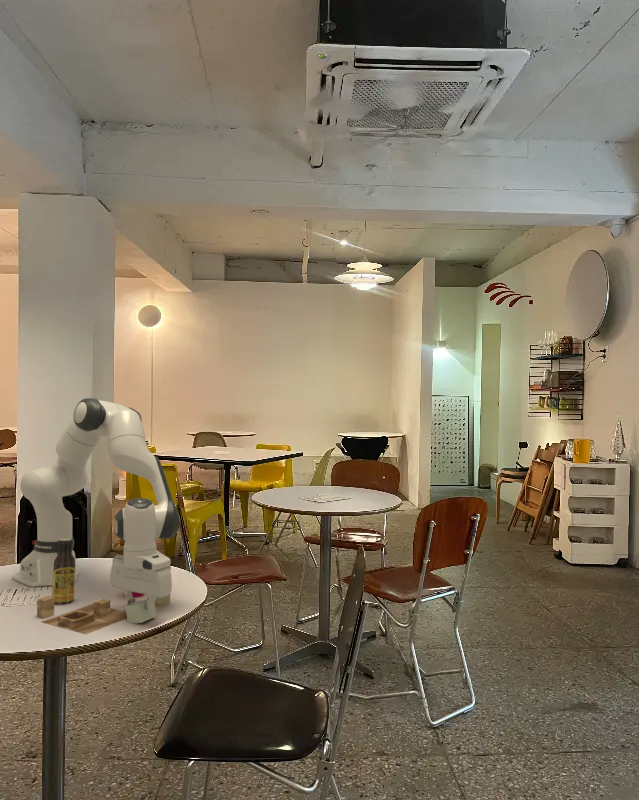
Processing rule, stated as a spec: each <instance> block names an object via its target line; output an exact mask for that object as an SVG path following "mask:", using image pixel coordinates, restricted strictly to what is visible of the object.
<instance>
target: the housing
mask: <svg viewBox="0 0 639 800" xmlns="http://www.w3.org/2000/svg"><path fill="white" fill-rule="evenodd" d="M146 603H148V600H147V599H142V600H139V601H135V603H133V604H131V605H128V606H127V605H125V606H124V607H125V608H124V609H125V612H126V614H127V618H126V619H127V623H131V624H141V623H145V622H146V621H149V620H151V619H153V618H156V617H157V609H156V606H155V603H153V609H152V610H150V611H148V610H145V604H146Z"/></svg>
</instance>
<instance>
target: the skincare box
mask: <svg viewBox="0 0 639 800" xmlns="http://www.w3.org/2000/svg"><path fill="white" fill-rule="evenodd" d="M171 567H172V566H171V565H170V566H168V568H169V569H170V571H172V569H171ZM146 600H149V599H148V598H147V597H146ZM154 603H155V607H156V606H161V605H169V604H171V593H170V594H169V595H167V596H165V597H162V598H160V597H156V599H155V601H154Z"/></svg>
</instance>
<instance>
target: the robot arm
mask: <svg viewBox="0 0 639 800" xmlns="http://www.w3.org/2000/svg"><path fill="white" fill-rule="evenodd" d="M145 435H146V434H145V430H144V426H143V420H142V415H141V413H140V412H139V411H137V410H136V409H135V408H132V407H127V406H125V405H123V404H120V403H116V402H111V401H107V400H100V399H97V398H94V397H93V398H90V397H89V398H88V397H86V398H83V399H81V400H80V401H79V402H78V403H77V404H76V407H75V408H74V412H73V417H72V419H71V420H70V421H69V423H68V425H67V427H66V429H65V430H64V432H63V433H62V435H61V437H60V439H59V440H58V442H57V444H56V447H55V450H56V451H55V452H56V454H57V456H58V458H57V461H56V462H55V463H54V464H52V465H49V466H43V467H37V468H35V469H31V470H29V471H28V472H26V473H24V475H23V476H22V477H21V480H20V483H19V484H20V485H19V486H20V491H21V494H22V495H23V496H24V498H26V499H27V500H29V502H30V503H31V505H32V506H33V510H34V512H35V515H36V526H37V530H36V531H37V539H36V540H32V543H31V544H32V545H34V546H33V550H32V551H31V552H30V553H29V554H27V555H26V556H25V557H24V558H23V559H22V560H21V561H20V565H19V572H17V573H15V574H13V575H12V577H11V579H12V580H14V581H16V582H19V583H21V584H23V585H26V586H28V587H31V588H35V587H43V586H45V587H46V586H53V570H54V560H55V559H56V557H57V555H58V551H59V545H58V540H59V539H61V538H72V539H73V543H72V555H73V557H74V559H75V581H76V580H77V579H78V575H79V572H80V571H79V570H77V562H76V561H77V560H76V559H77V558H76V553H75V551H74V550H73V549H74V547H75V540H74V539H75V538H74V536H73V515H72V513H71V512H70V511H69V510H67V509H66V508H65V505H64V503H63V497H67V496H72V495H74V494H76V493H79V492H80V491H82V490H83V489H84V488H85V487H86V485H87V482H88V473H87V471H86V465H87V463H88V461H89V460H90V459H89V458H90V457H91V456H92V454H93V452H94V450H95V448H96V446H97V445H98V443H99V441H100V439H101V437H102V436H103V437H107V443H108V453H109V457H110V460H111V463H112V464H113V466H115V467H116V468H118V469H119V470H121V471H122V472H125V473H128V474H133V475H135V476H138V477H141V478H143V479H145V480H147V481H148V482H149V483H150V484H151V486H152V490H153V492H154V495H155V499H156V503H157V504H156V505H155V504H154V501H152V500H151V499H148V498H145V497H137V498H132V499H130V500H128V501H126V502H125V504H124V505H125V506H124V508H120V510H118V511H117V512H116V514H115V515H114V535H115V536H116V537H117V538H118V539H119V540H122V541H124V545H123V555H122V554H116V555H115V556H113V558H112V565H111V569H110V576H109V584H110V586H111V588H113V589H118V590H122V591H123V596H124V595H125V596H124V597H125V599H126V606H128V605H131V604H133V603H136V598H133V596H132V593H131V592H136V593H141V594H144V595H146V599H147V598H148V599H149V600H148V603H146V604H145V610H148V611H150V610H152V609H153V603H154V601H155V599H156V597H160V598H162V597H165V596H167V595H169V594H170V595H171V592H172V586H173V582H172V581H173V580H172V572H171V571H172V570H171V571H170V569H169V568H168V566H171V562H172V561H171V558H170V557H168V556H166V555H165V554H163V553H162V552H160V551H159V550H157V542H156V539H159V540H162V539H163V540H170V539H171V538H173V537H175V535H176V534H177V533H178V532H179V531H180V528H181V518H180V514H179V511H178V508H177V506H176V504H175V501H174V498H173V496H172V495H173V494H172V493H171V490H170V487H169V484H168V480H167V477H166V474H165V471H164V468H163V465H162V462H161V461H160V459H159V457H158V456H156V455H154V454H153V453H151V451H150V449H149V448H148V445H147V440H146V436H145Z"/></svg>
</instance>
